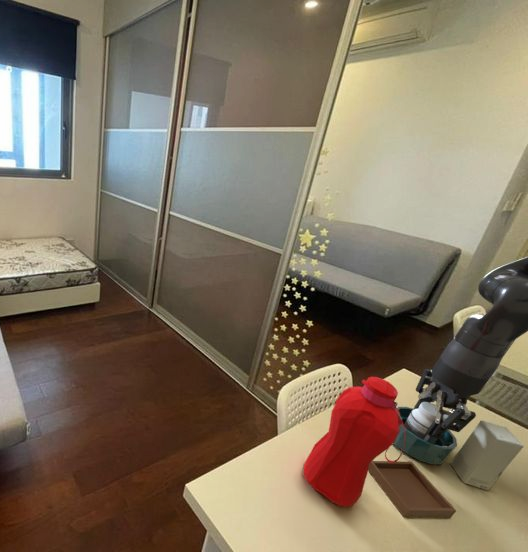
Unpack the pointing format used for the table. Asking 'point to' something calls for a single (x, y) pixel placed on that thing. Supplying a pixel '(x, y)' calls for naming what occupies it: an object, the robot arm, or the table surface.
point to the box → (486, 454)
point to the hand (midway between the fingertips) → (425, 424)
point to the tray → (410, 490)
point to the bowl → (424, 443)
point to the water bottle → (354, 440)
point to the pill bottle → (422, 421)
